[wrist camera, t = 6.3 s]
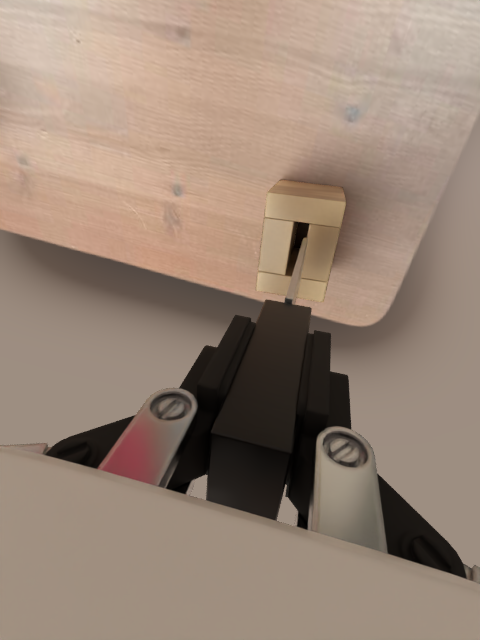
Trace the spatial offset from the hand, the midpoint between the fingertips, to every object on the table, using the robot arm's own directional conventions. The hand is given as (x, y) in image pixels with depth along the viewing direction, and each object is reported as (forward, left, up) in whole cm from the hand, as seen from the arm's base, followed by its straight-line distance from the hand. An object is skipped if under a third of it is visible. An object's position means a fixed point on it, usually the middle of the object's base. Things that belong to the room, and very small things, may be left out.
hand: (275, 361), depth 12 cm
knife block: (0, 0, -20) cm, 20 cm away
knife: (0, 0, -11) cm, 11 cm away
